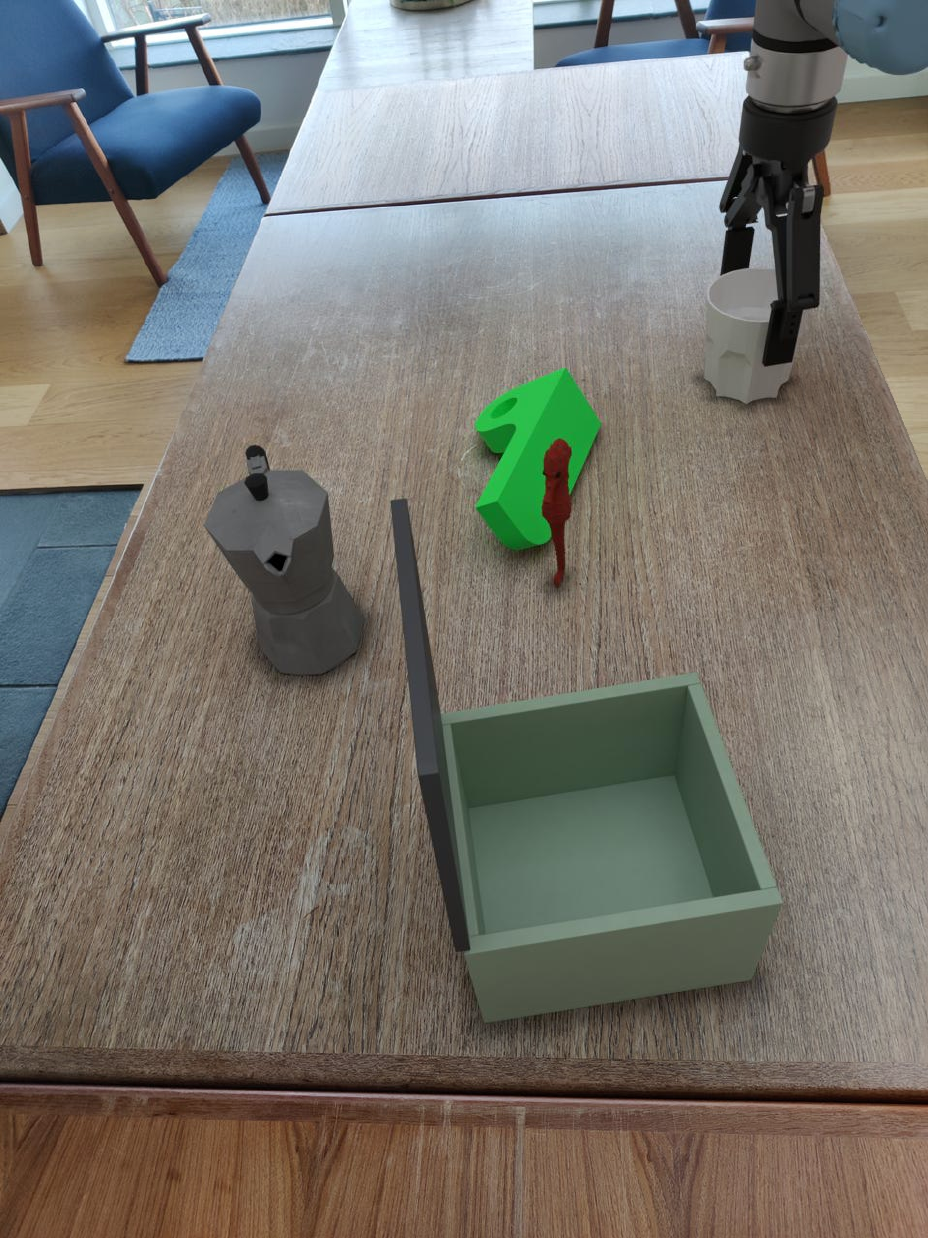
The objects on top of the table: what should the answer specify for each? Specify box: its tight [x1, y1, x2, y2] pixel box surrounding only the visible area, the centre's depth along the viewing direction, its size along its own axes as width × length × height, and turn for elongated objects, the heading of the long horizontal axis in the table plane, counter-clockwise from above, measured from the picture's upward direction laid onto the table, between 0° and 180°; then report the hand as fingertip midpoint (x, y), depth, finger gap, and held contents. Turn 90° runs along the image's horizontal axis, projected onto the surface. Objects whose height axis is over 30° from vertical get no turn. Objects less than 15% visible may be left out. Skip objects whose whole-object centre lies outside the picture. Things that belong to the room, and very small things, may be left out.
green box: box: [441, 671, 784, 1024], centre depth 55 cm, size 17×15×12 cm
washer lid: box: [389, 497, 471, 953], centre depth 44 cm, size 18×15×1 cm
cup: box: [703, 267, 811, 405], centre depth 90 cm, size 10×10×10 cm
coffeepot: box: [203, 444, 365, 677], centre depth 71 cm, size 15×9×18 cm, turn 16°
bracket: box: [474, 366, 602, 551], centre depth 85 cm, size 20×10×7 cm
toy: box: [541, 438, 573, 587], centre depth 73 cm, size 2×5×15 cm, turn 159°
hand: (753, 324), depth 89 cm, fingers open, 13 cm apart
